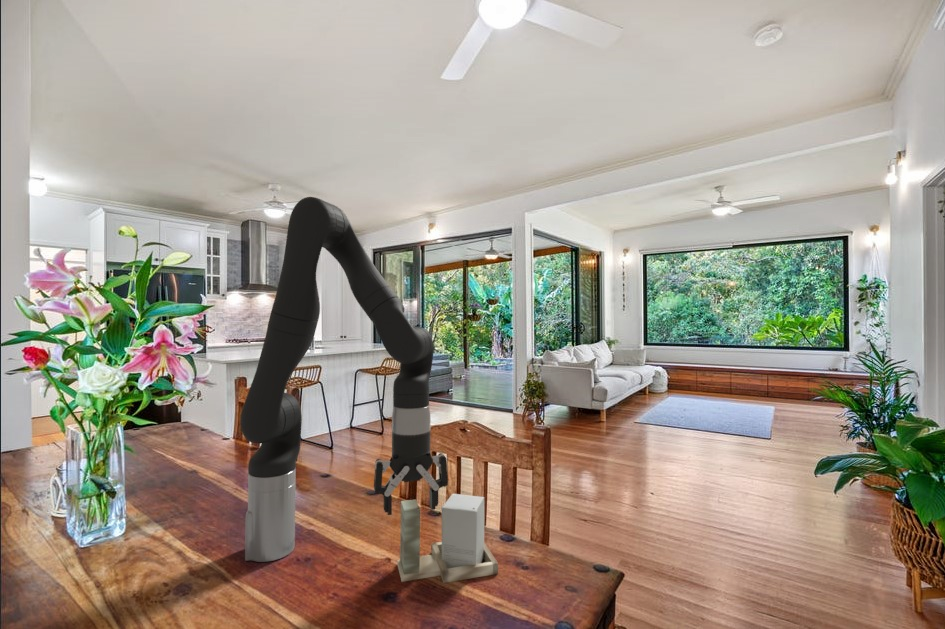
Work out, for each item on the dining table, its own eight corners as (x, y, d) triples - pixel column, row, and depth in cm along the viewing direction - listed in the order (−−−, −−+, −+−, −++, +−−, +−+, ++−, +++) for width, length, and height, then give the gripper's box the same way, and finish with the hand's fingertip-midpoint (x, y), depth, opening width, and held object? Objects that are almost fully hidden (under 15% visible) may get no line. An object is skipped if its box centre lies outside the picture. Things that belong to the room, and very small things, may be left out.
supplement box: (485, 556, 93) (486, 496, 93) (476, 576, 86) (476, 511, 86) (451, 551, 95) (452, 492, 95) (440, 570, 88) (440, 506, 88)
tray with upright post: (403, 589, 81) (404, 519, 81) (395, 557, 92) (396, 495, 92) (498, 573, 87) (498, 507, 87) (480, 545, 97) (481, 486, 97)
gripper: (376, 436, 81) (376, 524, 81) (451, 430, 86) (451, 514, 86) (372, 426, 89) (372, 507, 89) (442, 421, 93) (442, 498, 93)
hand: (411, 510), depth 87 cm, fingers open, 8 cm apart
